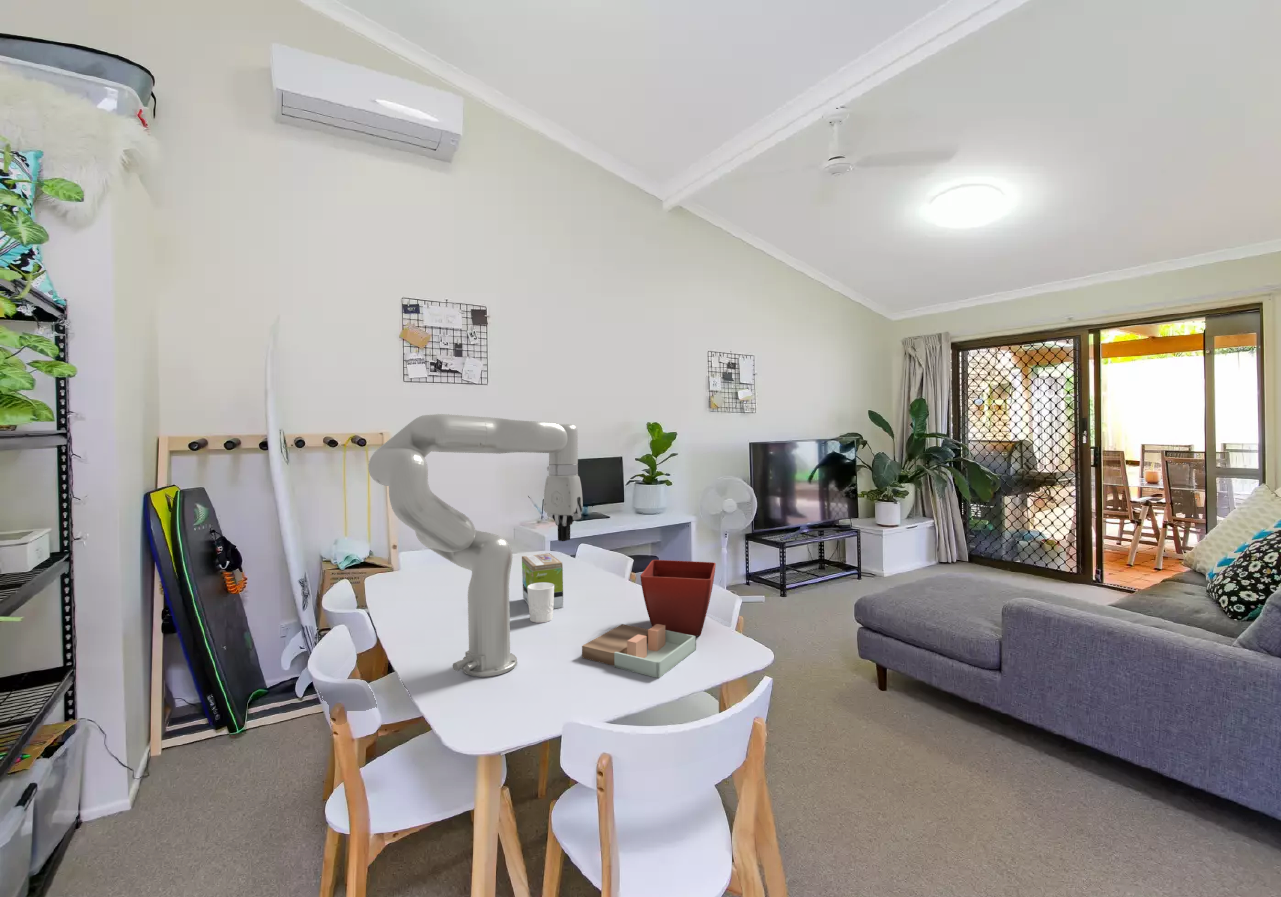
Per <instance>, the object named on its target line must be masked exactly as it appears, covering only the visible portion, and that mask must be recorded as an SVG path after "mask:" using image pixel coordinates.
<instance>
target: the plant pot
mask: <svg viewBox="0 0 1281 897" xmlns="http://www.w3.org/2000/svg"><path fill="white" fill-rule="evenodd" d="M716 565H717V564H716V562H713V561H712V562H711V561H710V562H709V561H690V560H688V561H687V560H669V559H668V560H667V559H666V560H663V559H652V560H651V561H650V562H649V564H648V565H647V566H646V568H645V569H644V570H643V571H642V573H641V574H640V583H641V589H642V595H643V600H644V603H645V608H646V612H647V615H648V618H649V621H650V625H651V628H652V627H653V626H654V625H656V624H660V625H665V630H668V631H673V632H678V633H683V634H688V635H693V636H696V637H698V636H700V635H701V634H702V631H703V629H704V624H705V622H706V616H707V614H708V609H709V606H710V600H711V596H712V591H713V586H714V581H715V573H716Z"/></svg>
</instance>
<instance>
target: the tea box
mask: <svg viewBox="0 0 1281 897" xmlns="http://www.w3.org/2000/svg"><path fill="white" fill-rule="evenodd" d="M521 570H522V572H521V573H522V575H521V576H522V598H523V600H524V601H525V602H526V604H527V605H529V604H528V590H527V586H528V585H530V584H533V583H541V582H546V583H552V584H554V606H553V610H556V609H559V608H560V609H561V608H564V572H563V571H564V570H563V561H561V560H559V559H558V558H557V557H555V556H554V555H552V554H551V553H539V554H532V555H522V556H521Z"/></svg>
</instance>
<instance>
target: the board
mask: <svg viewBox="0 0 1281 897" xmlns="http://www.w3.org/2000/svg"><path fill="white" fill-rule="evenodd" d="M649 629H650V628H643V627H639V626H633V625H628V624H624V623H622V624H620V625H618V626H616V627H614V628H612V629H610V630H609V631H607V632H605V633H603V634H601V635H599V636H598V637H596V638H594V639H592V640H590V641H588V642H586V643H585V644H583V645H581V658H582V659H586V660H589V661H593V662H597V663H602V664H605V665H609V666H613V667H615V662H614V652H619V653H624V654H627V641H628V640H629V639H631V638H633V637H634V636H636V635H638V634H639V635H644V636H647V644H648V630H649Z"/></svg>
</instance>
